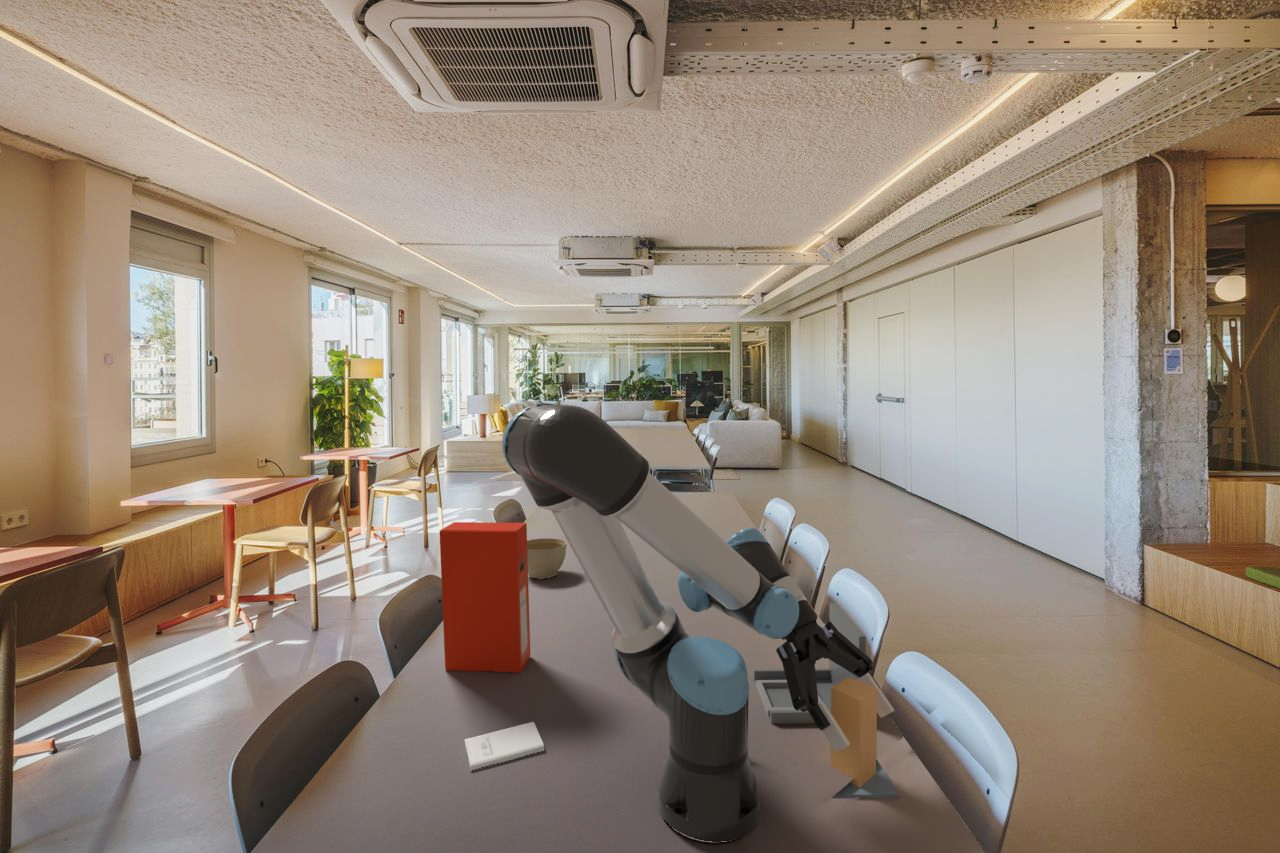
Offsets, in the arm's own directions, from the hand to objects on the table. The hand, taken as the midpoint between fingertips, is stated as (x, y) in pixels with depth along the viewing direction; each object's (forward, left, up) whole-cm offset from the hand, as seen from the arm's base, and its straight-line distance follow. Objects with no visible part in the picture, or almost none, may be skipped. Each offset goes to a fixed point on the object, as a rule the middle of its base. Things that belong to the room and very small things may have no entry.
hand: (866, 730), depth 89 cm
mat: (-1, +1, -8) cm, 9 cm away
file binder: (-70, +40, -9) cm, 82 cm away
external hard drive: (-60, +10, -9) cm, 61 cm away
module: (-1, +2, -8) cm, 8 cm away
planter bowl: (-68, +103, -9) cm, 124 cm away
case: (-3, +22, -8) cm, 23 cm away
